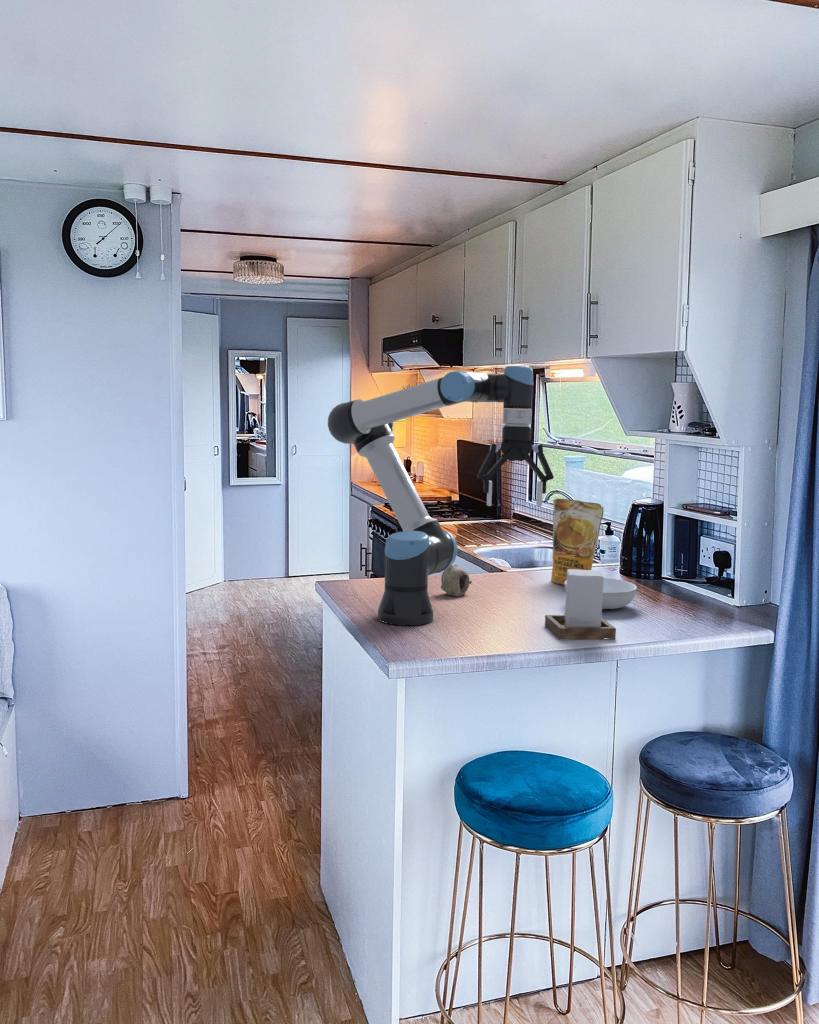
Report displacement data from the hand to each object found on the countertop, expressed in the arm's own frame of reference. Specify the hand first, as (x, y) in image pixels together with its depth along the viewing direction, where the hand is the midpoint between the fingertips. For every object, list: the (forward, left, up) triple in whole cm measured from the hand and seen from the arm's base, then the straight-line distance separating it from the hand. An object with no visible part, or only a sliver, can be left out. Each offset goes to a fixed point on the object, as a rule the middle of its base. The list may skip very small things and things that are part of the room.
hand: (514, 505), depth 230 cm
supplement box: (+17, -10, -31) cm, 37 cm away
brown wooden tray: (+16, -10, -32) cm, 37 cm away
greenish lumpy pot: (-9, +35, -32) cm, 48 cm away
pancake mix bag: (+32, +49, -32) cm, 67 cm away
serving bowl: (+31, +18, -32) cm, 48 cm away
